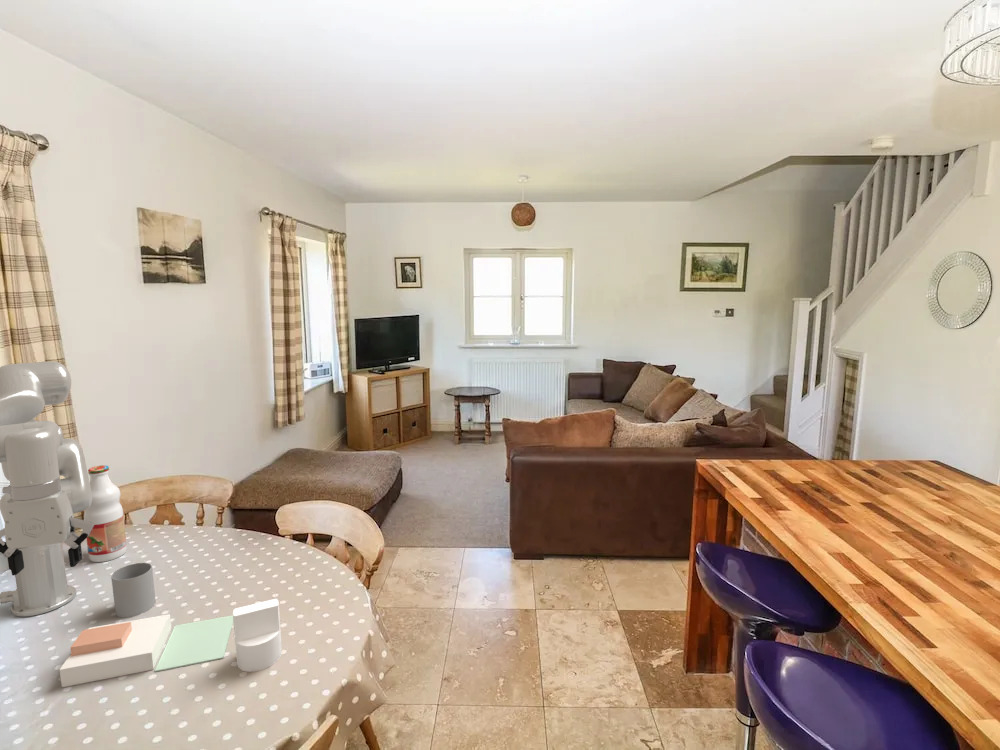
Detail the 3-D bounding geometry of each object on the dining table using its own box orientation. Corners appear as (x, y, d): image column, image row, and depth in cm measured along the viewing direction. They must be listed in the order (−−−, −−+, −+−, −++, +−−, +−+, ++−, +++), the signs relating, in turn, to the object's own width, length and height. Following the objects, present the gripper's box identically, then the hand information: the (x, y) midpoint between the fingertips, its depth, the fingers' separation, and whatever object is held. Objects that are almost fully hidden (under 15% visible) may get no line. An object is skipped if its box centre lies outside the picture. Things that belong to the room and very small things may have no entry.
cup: (163, 601, 133) (159, 566, 132) (131, 620, 126) (127, 582, 124) (140, 595, 136) (136, 560, 134) (107, 613, 128) (103, 576, 127)
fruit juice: (127, 556, 156) (118, 468, 152) (88, 566, 151) (77, 475, 146) (127, 544, 164) (117, 460, 159) (89, 553, 158) (78, 466, 154)
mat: (154, 672, 108) (154, 670, 108) (175, 626, 123) (174, 625, 123) (223, 658, 113) (223, 657, 112) (235, 615, 127) (234, 614, 127)
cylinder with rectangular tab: (237, 677, 107) (233, 624, 105) (236, 650, 115) (232, 601, 113) (283, 663, 111) (280, 612, 109) (280, 638, 119) (277, 591, 117)
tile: (71, 656, 107) (70, 647, 107) (83, 638, 113) (82, 630, 113) (122, 646, 110) (121, 638, 110) (131, 630, 116) (131, 621, 115)
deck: (61, 687, 104) (59, 669, 103) (91, 643, 117) (89, 627, 116) (153, 669, 109) (151, 652, 108) (171, 629, 122) (170, 614, 122)
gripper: (-30, 501, 98) (-17, 584, 100) (80, 490, 103) (89, 569, 106) (-7, 488, 105) (5, 566, 107) (95, 478, 110) (104, 552, 113)
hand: (47, 567), depth 107 cm, fingers open, 9 cm apart
